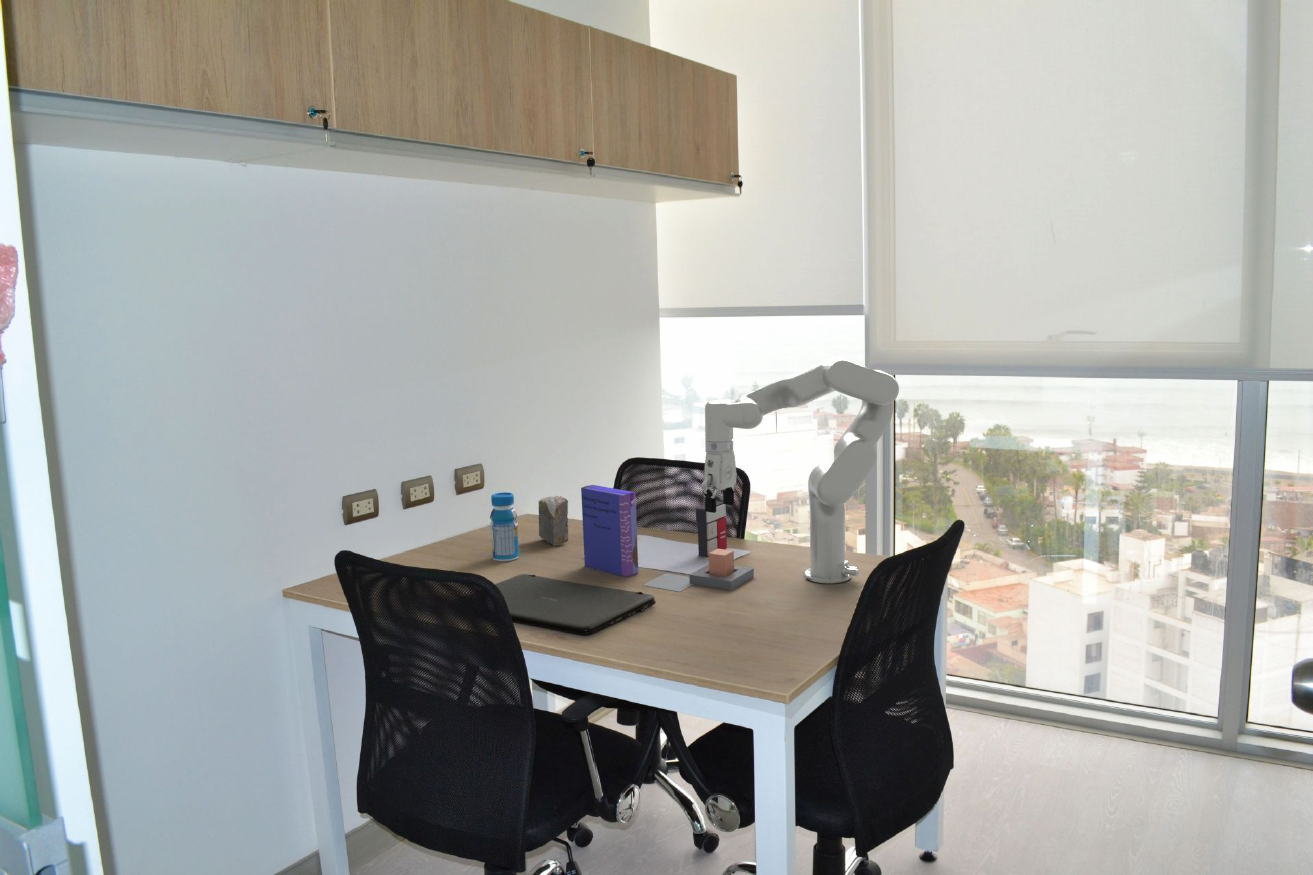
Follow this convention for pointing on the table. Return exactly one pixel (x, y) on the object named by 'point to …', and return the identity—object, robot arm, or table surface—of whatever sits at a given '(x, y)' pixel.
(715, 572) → the block
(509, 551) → the beverage bottle
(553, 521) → the geological specimen
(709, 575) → the pocket tray
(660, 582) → the mat
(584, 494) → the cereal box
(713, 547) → the grey and red box
